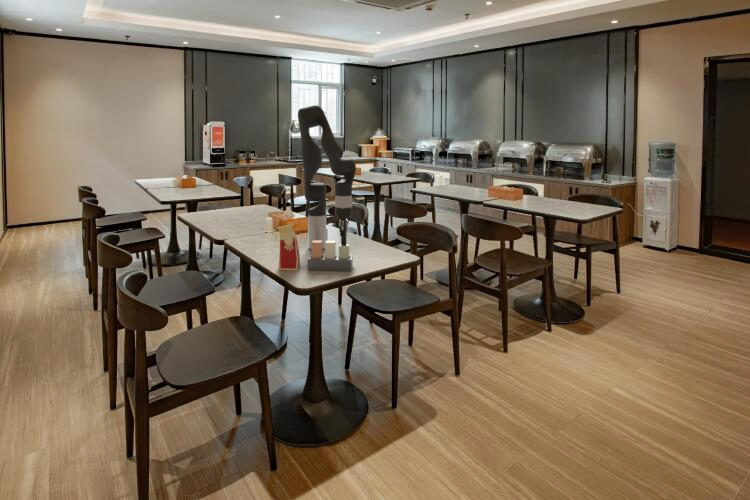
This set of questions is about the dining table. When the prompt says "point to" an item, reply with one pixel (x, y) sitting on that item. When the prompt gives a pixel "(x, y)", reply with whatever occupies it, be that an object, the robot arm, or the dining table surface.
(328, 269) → the frame
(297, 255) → the milk carton
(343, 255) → the sage key
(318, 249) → the terracotta key
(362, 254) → the dining table surface
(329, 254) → the ivory key
